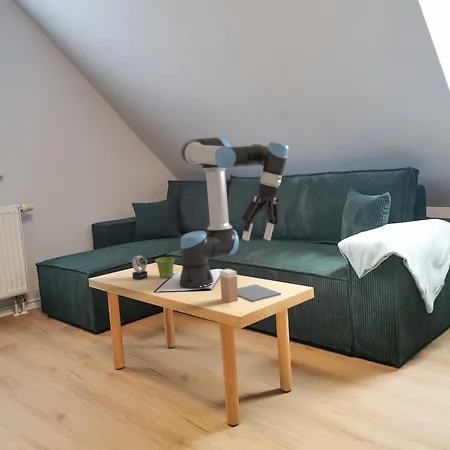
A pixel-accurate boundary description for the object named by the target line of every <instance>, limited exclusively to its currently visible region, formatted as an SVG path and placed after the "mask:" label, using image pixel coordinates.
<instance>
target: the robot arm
mask: <svg viewBox="0 0 450 450" xmlns="http://www.w3.org/2000/svg"><path fill="white" fill-rule="evenodd" d="M288 153H289V146H288V145H286V144H283V143H280V142H279V143H278V142H274V141H270V142H269V143H268V145H267V146H266V145H262V144H260V143H257V144H256V143H253V144H250V145H244V146H231V145H230V142H228V140H227V139H226V138H225V137H224V138H223V137H205V138H203V137H202V138H192V139H189V140H188V141H186V142H185V143H184V144H182V146H181V148H180V157H181V160H183V162H185V163H186V164H188V165H191V166H201V168H202V169H201V170H202V171H204V172H205V177H206V189H207V190H206V191H207V199H208V201H207V203H208V213H209V226H208V227H207V229H206V231H207V232H206V231H205V230H197V231H196V230H195V231H191V232H187V233H185V234H182V236H181V237H180V252H181V254H180V255H181V264H182V269H181V274H180V277H179V286H180V288H181V287H182V288H185V289H194V288H193V287H200V286H204V285H208V284H210V283H212V282H213V283H214V276H213V275H212V272H211V269H210V267H209V260H211V259H217V258H222V257H228V256H232V255H234V254H235V253H237V252H236V251H238V248H239V243H240V241H239V235H238V232H237V231H236V230H234V229H233V226H232V225H231V224H230V222H229V208H228V207H229V205H228V197H227V196H228V195H227V182H226V181H227V179H226V170H227V169H230V168H237V167H239V168H240V167H241V168H242V167H254V166H261V167H262V172H261V176H260V179H259V181H260V183H259V184H258V188H257V193H258V196H257V195H253V196H252V198H251V202H250V203H249V205H248V207H247V209H246V211H244V213H243V216H242V217H241V220H242V221H243V222H244V226H243V233H242V236H241V239H242V240H244V241H247V242H249V241H250V237H251V232H252V230H253V225H254V224H253V221H254V220H255V219H256V218H257V216H258V215H259V214H260V212H261V211H265V212H266V214H267V218H268V222H266V225H265V226H266V227H265V230H264V231H265V232H264V236H263V239H264V240H267V241H271V238H272V234H273V231H274V227H275V225H276V226H277V225H278V223H279V222H280V213H279V203H280V199H279V198H277V197H278V194H279V191H280V188H279V187H280V185H281V182H282V177H283V173H284V170H285V168H286V167H285V166H286V162H287V158H288Z"/></svg>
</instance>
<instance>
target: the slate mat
mask: <svg viewBox="0 0 450 450" xmlns="http://www.w3.org/2000/svg"><path fill="white" fill-rule="evenodd" d="M237 291H238V297H239V298H243V299H245V300H247V301H250V302H252V303H253V302H257V301H261V300H265V299H270V298H273V296H274V297H277V295H278V296H281V295H282V292H279V291H276V290H273V289H270V288H268V287H265V286H262V285H259V284H255V283H254V284H252V285H247V286H243V287H242V286H241V287H237Z"/></svg>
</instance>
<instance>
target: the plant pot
mask: <svg viewBox="0 0 450 450" xmlns="http://www.w3.org/2000/svg"><path fill="white" fill-rule="evenodd" d="M175 260H176V258H175V257H170V256H169V257H160V258H156V259H155V260H154V261H155V263H156V265H157V270H158V273H159V277H160V278H161V279H165V278H166V279H170V278H173V276H174V263H175Z"/></svg>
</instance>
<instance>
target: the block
mask: <svg viewBox="0 0 450 450" xmlns="http://www.w3.org/2000/svg"><path fill="white" fill-rule="evenodd" d="M237 276H238V275H237V271H236V270H233V269H230V268H226V269H220V270H219V278H220V279H219V281H220V295H221V296H220V297H221V300H222V301H224V302H226V303H229V304H230V303H235V302H238V301H239V296H238V291H237V288H238V277H237Z"/></svg>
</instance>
